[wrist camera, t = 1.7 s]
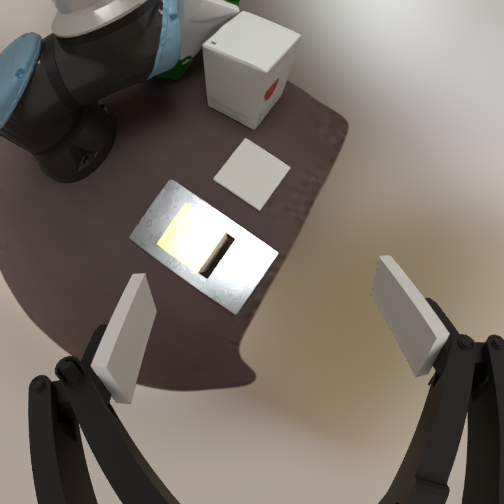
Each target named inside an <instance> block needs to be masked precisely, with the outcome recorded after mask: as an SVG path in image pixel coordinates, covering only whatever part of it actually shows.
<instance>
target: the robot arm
mask: <svg viewBox="0 0 504 504" xmlns="http://www.w3.org/2000/svg"><path fill="white" fill-rule="evenodd" d="M52 1H53V3H54V4H55V6H56V8H57V10H58V11H57V14H56V16H55V18H54V20H53V23H52V31H53V33H52V34H50V35H49V36H47V37H45V38H43V39H41V36H40V35H38V34H36V33H33V32H31V33H27V34H24V35H22V36H20V37H18V38H17V39H16V40H14V41H13V42H12V43H11V44H9V45H8V46H7V47H6V48H5V49H4V50H3V51H2V53H1V54H0V135H1V136H2V137H4V138H6V139H8V140H9V141H11V142H13V143H15V144H16V145H18V146H20V147H21V148H23V149H25V150H27V151H29V152H30V153H32V154H33V156H34V157H35V159H36V161H37V162H38V164H39V165H40V167H41V169H42V170H43V172H44V173H45V174H46V175H48V176H49V177H51V178H53V179H54V180H56V181H59V182H64V183H69V182H75V181H78V180H80V179H82V178H84V177H86V176H88V175H89V174H90V173H92V172H93V171H94V170H95V169H96V168H97V167H98V166H99V165H100V164H101V163H102V162H103V160H104V159H105V157H106V156H107V154H108V153H109V151H110V149H111V147H112V144H113V141H114V138H115V132H116V123H115V118H114V116H113V114H112V112H111V111H110V109H109V108H108V107H107V105H106V104H105V103H104V102H102V101H101V100H99V99H101V98H103V97H105V96H107V95H110V94H112V93H114V92H117V91H119V90H121V89H124V88H126V87H129V86H131V85H134V84H136V83H139V82H142V81H144V80H148V79H151V78H152V77H153V76H155V75H158V74H160V73H162V72H165V71H167V70H170V69H171V68H173V67H174V66H175V65H176V64H177V62H178V60H179V57H180V52H181V33H180V23H179V20H178V10H177V4H176V0H52ZM371 296H372V297H373V299H374V300H375V302H376V304H377V306H378V308H379V309H380V311H381V313H382V314H383V316H384V318H385V320H386V322H387V323H388V325H389V327H390V329H391V331H392V333H393V334H394V336H395V338H396V340H397V342H398V344H399V346H400V348H401V349H402V351H403V353H404V355H405V357H406V359H407V361H408V363H409V365H410V367H411V369H412V371H413V373H414V375H415V377H419V376H422V375H426V374H428V373H429V371H430V370H431V368H432V366H433V367H434V368H435V370H436V372H435V374H434V375H433V377H432V378H431V380H430V381H429V383H428V385H430V384H431V386H430V389H429V393H428V396H427V399H426V402H425V405H424V408H423V411H422V414H421V417H420V420H419V423H418V425H417V428H416V431H415V434H414V436H413V438H412V441H411V443H410V446H409V448H408V450H407V453H406V455H405V457H404V460H403V462H402V464H401V466H400V468H399V471H398V472H397V474H396V476H395V478H394V480H393V482H392V485H391V486H390V488H389V490H388V492H387V493H386V495H385V496H384V497H383V498H382V499H381V501H380V502H379V503H378V504H445V503H446V500H447V498H448V495H449V487H448V486H447V481H448V478H449V475H450V472H451V469H452V466H453V463H454V460H455V457H456V453H457V450H458V447H459V443H460V440H461V436H462V432H463V428H464V424H465V419H466V415H467V412H468V442H467V462H466V474H465V483H464V491H463V498H462V504H504V340H503V338H501V337H500V336H498V335H490V336H489V337H488V339H487V340H486V342H483V343H482V342H481V343H480V342H474V340H473V339H472V338H470V337H469V336H467V335H463V334H459V333H458V331H457V330H456V328H455V327H454V326H453V324H452V323H451V322H450V320H449V319H448V317H447V316H446V315H445V313H444V312H443V311H442V309H441V308H440V307H439V306H438V304H437V303H436V302H435V301H433V300H432V299H430V298H425V299H424V297H423V296H422V295H421V293H420V292H419V291H418V289H417V288H416V287H415V286H414V285H413V283H412V282H411V280H410V279H409V278H408V277H407V276H406V274H405V273H404V272H403V270H402V269H401V268H400V267H399V265H398V264H397V263H396V262H395V261H394V259H393V258H392V257H391V256H390V255H386V256H379V257H378V263H377V268H376V273H375V278H374V283H373V288H372V293H371ZM156 312H157V311H156V308H155V304H154V301H153V298H152V295H151V292H150V288H149V285H148V282H147V278H146V275H145V273H142V274H133V275H132V277H131V278H130V280H129V282H128V284H127V286H126V288H125V290H124V292H123V294H122V296H121V299H120V301H119V303H118V305H117V307H116V309H115V311H114V313H113V315H112V317H111V320H110V322H109V324H108V325H100V326H99V327H98V328H97V329H96V330H95V331H94V333H93V335H92V338H91V341H90V342H89V344H88V347H87V348H86V351H85V353H84V355H83V357H82V360H81V362H80V360H79V359H78V358H77V357H75V356H67V357H65V358H63V359H61V360H60V361H59V362H58V364H57V365H56V368H55V374H56V375H57V377H58V378H59V379H60V380H58V381H52V382H51V380H50V379H49V378H48V377H47V376H45V375H39V376H37V377H35V378H34V379H33V380H32V381H31V383H30V386H29V402H28V406H29V408H28V416H29V417H28V418H29V439H30V440H29V441H30V453H31V463H32V471H33V478H34V485H35V490H36V496H37V501H38V504H98V503H97V500H96V497H95V494H94V490H93V487H92V484H91V479H90V476H89V472H88V468H87V464H86V460H85V455H84V450H83V445H82V440H81V434H80V429H79V424H80V427H81V429H82V431H83V433H84V435H85V437H86V440H87V442H88V444H89V446H90V448H91V450H92V452H93V454H94V456H95V458H96V460H97V462H98V464H99V465H100V467H101V469H102V471H103V472H104V474H105V476H106V478H107V479H108V481H109V483H110V484H111V486H112V488H113V489H114V491H115V493H116V494H117V496H118V497H119V499H120V500H121V502H122V503H123V504H180V503H179V502H178V501H177V499H176V498H175V497H174V496H173V495H172V493H171V492H170V491H169V490H168V489H167V488H166V486H165V485H164V484H163V482H162V481H161V480H160V478H159V477H158V476H157V475H156V473H155V472H154V471H153V469H152V468H151V467H150V465H149V464H148V462H147V461H146V460H145V458H144V457H143V455H142V454H141V452H140V451H139V450H138V448H137V446H136V445H135V443H134V442H133V440H132V439H131V437H130V436H129V434H128V432H127V431H126V429H125V428H124V426H123V424H122V423H121V421H120V419H119V418H118V416H117V414H116V413H115V411H114V409H113V407H112V406H111V404H110V403H109V402H110V399H111V396H112V397H113V399H114V400H115V402H116V403H124V404H131V401H132V397H133V393H134V389H135V385H136V381H137V378H138V374H139V370H140V366H141V363H142V359H143V356H144V352H145V349H146V345H147V342H148V338H149V335H150V332H151V328H152V325H153V322H154V319H155V315H156Z"/></svg>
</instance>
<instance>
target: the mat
mask: <svg viewBox="0 0 504 504" xmlns="http://www.w3.org/2000/svg"><path fill="white" fill-rule="evenodd" d="M289 169H290V167H289V166H288V165H286V164H285V163H283V162H282V161H280V160H279V159H277V158H276V157H274V156H273V155H271V154H270V153H268V152H267V151H265V150H264V149H262V148H260V147H259V146H257V145H256V144H254V143H253V142H251V141H250V140H248V139H246V138H245V139H244V141H243V142H242V143H241V144H240V146H239V147H238V148H237V149H236V150H235V152H234V153H233V154H232V156H231V157H230V158H229V159H228V161H227V162H226V163H225V164H224V166H223V167H222V168H221V170H220V171H219V172H218V173H217V175H216V176H215V177H214V179H213V180H214V181H215V182H217V183H218V184H220V185H221V186H223V187H224V188H226V189H227V190H229V191H230V192H232V193H233V194H235V195H236V196H237V197H239V198H240V199H242V200H243V201H245V202H246V203H248V204H249V205H251V206H252V207H254V208H255V209H256V210H258V211H260V210H261V209H262V207H263V206H264V204H265V203H266V202H267V200H268V199H269V197H270V196H271V195H272V193H273V192H274V190H275V189H276V188H277V186H278V185H279V183H280V182H281V181H282V179H283V178H284V176H285V175H286V174H287V172H288V171H289Z"/></svg>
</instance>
